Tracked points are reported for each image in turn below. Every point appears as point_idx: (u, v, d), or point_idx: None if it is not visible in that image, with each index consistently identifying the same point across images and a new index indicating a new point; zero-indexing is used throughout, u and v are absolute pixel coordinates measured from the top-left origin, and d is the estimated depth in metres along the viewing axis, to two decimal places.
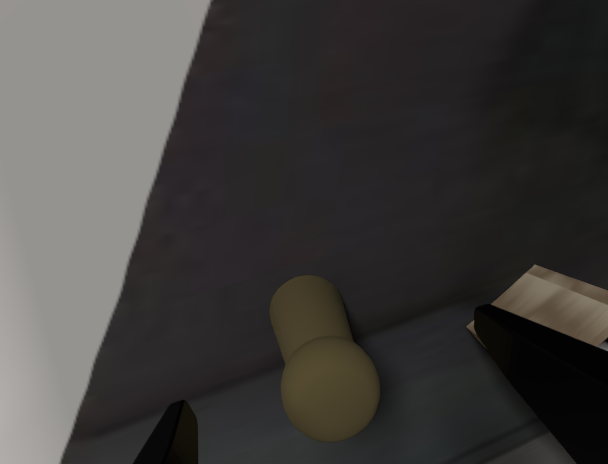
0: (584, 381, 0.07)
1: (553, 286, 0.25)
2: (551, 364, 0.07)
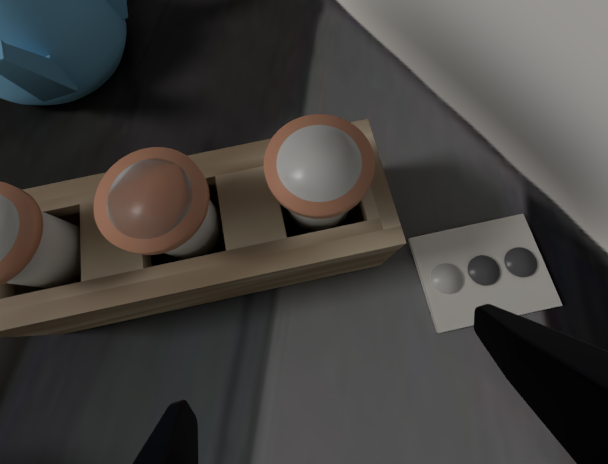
0: (584, 381, 0.07)
1: None
2: (551, 364, 0.07)
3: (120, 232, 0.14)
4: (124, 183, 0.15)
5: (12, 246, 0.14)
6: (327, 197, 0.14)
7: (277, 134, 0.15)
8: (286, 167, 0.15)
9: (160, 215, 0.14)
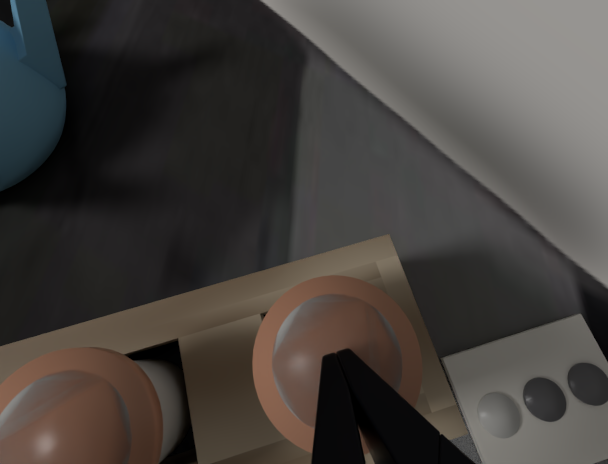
0: (386, 449, 0.06)
1: None
2: (370, 425, 0.07)
3: None
4: (14, 424, 0.09)
5: None
6: None
7: (270, 314, 0.10)
8: (287, 372, 0.10)
9: None
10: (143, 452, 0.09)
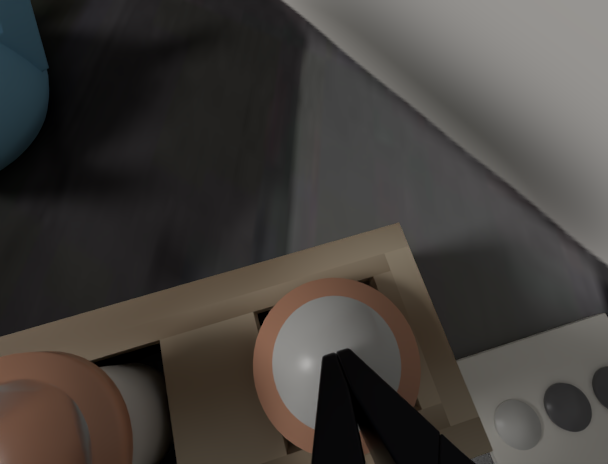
0: (386, 449, 0.06)
1: None
2: (370, 425, 0.07)
3: None
4: None
5: None
6: None
7: (270, 316, 0.10)
8: (287, 373, 0.10)
9: None
10: None
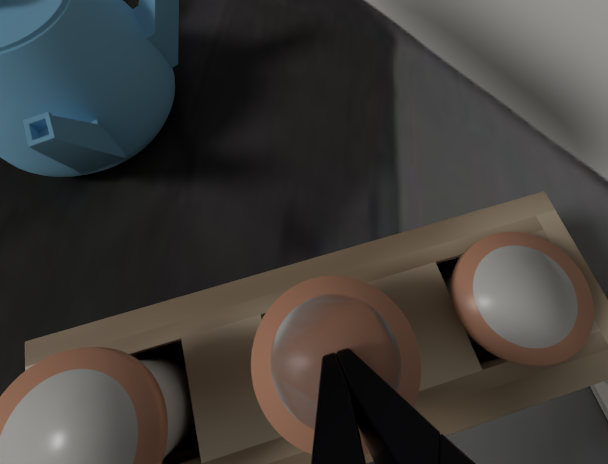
0: (386, 449, 0.06)
1: None
2: (370, 425, 0.07)
3: (304, 423, 0.09)
4: (292, 338, 0.10)
5: None
6: (548, 341, 0.12)
7: (466, 260, 0.13)
8: (487, 304, 0.12)
9: None
10: (413, 361, 0.10)
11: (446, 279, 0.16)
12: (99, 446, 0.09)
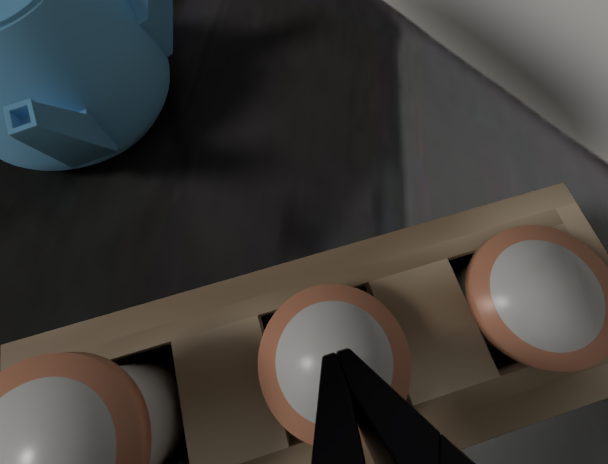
0: (386, 449, 0.06)
1: None
2: (370, 425, 0.07)
3: (305, 418, 0.10)
4: (294, 341, 0.11)
5: None
6: (573, 344, 0.11)
7: (481, 256, 0.12)
8: (506, 304, 0.11)
9: None
10: (404, 362, 0.11)
11: (457, 277, 0.15)
12: None
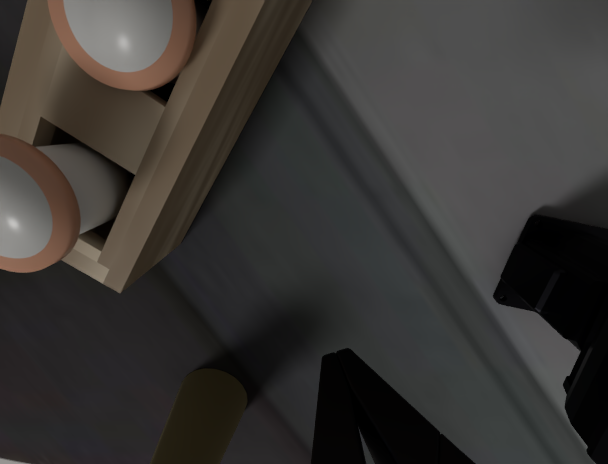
0: (386, 449, 0.06)
1: None
2: (370, 425, 0.07)
3: (138, 71, 0.12)
4: (83, 24, 0.11)
5: (38, 184, 0.11)
6: None
7: None
8: None
9: (147, 14, 0.11)
10: None
11: None
12: (13, 193, 0.11)
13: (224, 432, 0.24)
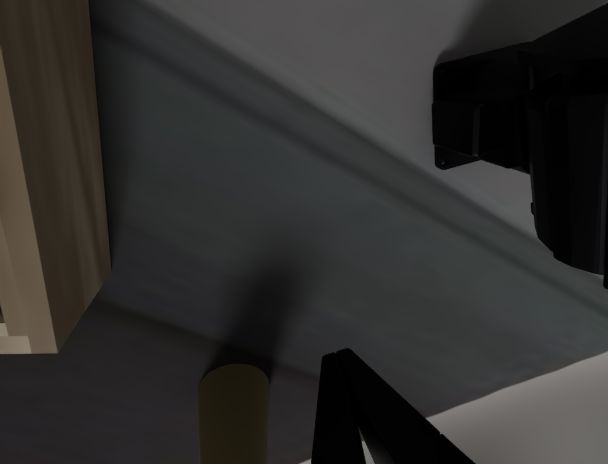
0: (386, 449, 0.06)
1: None
2: (370, 425, 0.07)
3: None
4: None
5: None
6: None
7: None
8: None
9: None
10: None
11: None
12: None
13: (257, 416, 0.23)
